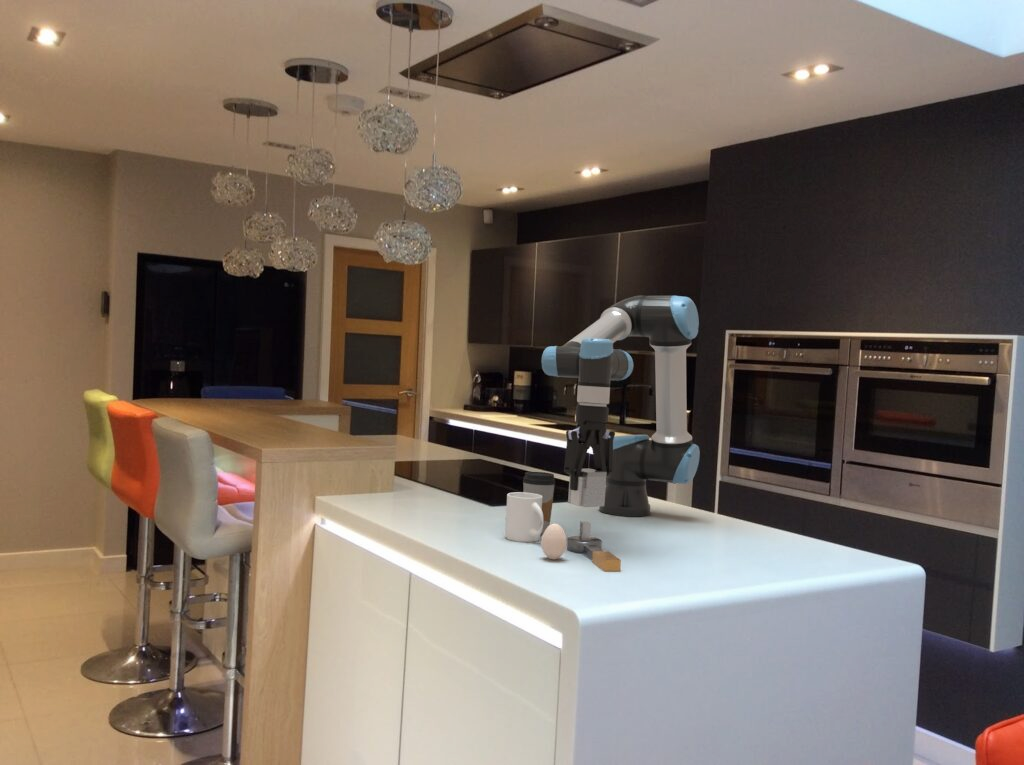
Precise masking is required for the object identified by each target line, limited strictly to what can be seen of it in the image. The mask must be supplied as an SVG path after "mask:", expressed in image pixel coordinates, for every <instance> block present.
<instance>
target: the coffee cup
mask: <svg viewBox="0 0 1024 765" xmlns="http://www.w3.org/2000/svg"><path fill="white" fill-rule="evenodd" d="M522 484H523V491H522V492H525V493H534V494H539V495H542V512H543V519H544V521H543V529H542V532H541V534H540V536H543V534H544V532H545V530H546V529H547V527H548V526H549V525H551V524H550V523H551V517H552V509H553V501H554V493H555V485H556V478H555V475H554V473H550V472H543V471H526V472H524V476H523V480H522ZM541 525H542V522H541Z"/></svg>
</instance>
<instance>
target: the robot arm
mask: <svg viewBox="0 0 1024 765" xmlns="http://www.w3.org/2000/svg"><path fill="white" fill-rule="evenodd" d="M699 321H700V320H699V312H698V308H697V305H696V304H695V303H694V301H693V300H692V299H691V298H690V297H688V296H681V295H635V296H632V297H628V298H624V299H623V300H620V301H618V302H616V303H614V304H612V305H611V306H609V307H607V309H605V310H604V311H603V312H602V313H601V314H600V317H599V318H598V319H597V320H596V321H594V322H593V323H592V324H590V325H589V326H588V327H586V328H585V329H584V330H582V331H581V332H580V333H578V334H577V335H576V336H574V337H572V339H569V341H567V342H566V343H564V344H563V345H561V346H558V345H554V346H553V345H551V346H547V347H546V348H545V349H544V350H543V353H542V355H541V369H542V371H543V372H544V374H545V375H547V376H549V377H550V376H551V377H557V378H560V377H561V378H576V379H577V378H578V381H577V396H576V402H577V403H579V404H577V405H576V409H575V410H576V411H575V420H576V422H577V424H576V427H575V429H573V430H569V429H567V430H566V432H565V435H566V445H565V456H564V457H565V458H564V465H563V472H564V473H565V474H567V475H568V476H569V480H570V490H571V504H570V505H573V504H574V506H577V505H578V506H577V507H580V506H579V505H581V494H582V479H583V477H579V476H580V474H581V470H582V469H583V468H584V467H583V466H584V463H585V460H586V456H587V454H588V451H589V449H590V448H591V450H592V455H593V461H594V467H595V470H599V471H604V472H607V475H606V489H605V504H604V506H600V507H598V510H599V511H600V512H602V513H604V514H608V515H614V516H622V517H647V516H649V515H650V514H651V505H650V504H649V503H650V502H649V496H648V493H647V481H655V482H663V483H671V484H679V485H680V484H683V485H687V484H689V483H691V481H693V479H694V477H695V475H696V473H697V471H698V467H699V463H700V457H701V456H700V453H701V452H700V451H701V450H700V447H699V445H697V444H696V443H693V436H692V435H691V434H690V432H688V427H687V426H688V425H687V424H688V421H687V420H688V418H687V417H688V415H687V405H688V404H687V400H688V399H687V349H688V348H689V347H690V346H691V345H692V340H693V339H695V338H696V337H697V335H698V333H699V327H700V326H699V325H700V322H699ZM627 337H642V338H644V337H645V338H648V339H649V342H648V343H649V346H650V347H651V348H653V349H654V360H655V361H654V362H655V363H654V365H655V413H656V414H655V417H656V418H655V420H656V427H655V428H656V431H655V432H654V433H653V434H652V435H651V439H650V435H648V434H629V435H628V434H626V435H616V432H615V431H613V430H608V429H607V426H606V423H607V422H608V421H609V412H610V410H609V407H608V406H607V405H610V394H611V381H613V382H614V381H616V382H619V381H623V380H626V379H627V378H628V377H630V376H631V374H632V373H633V370H634V361H633V358H632V356H631V355H630V354H629V353H628V352H626V351H624V350H623V349H620V348H619V349H615V348H614V346H613V345H614V343H616V342H617V341H622V340H625V339H626V338H627ZM575 470H576V471H575ZM570 477H571V478H570Z"/></svg>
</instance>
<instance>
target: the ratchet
mask: <svg viewBox="0 0 1024 765" xmlns="http://www.w3.org/2000/svg"><path fill="white" fill-rule="evenodd" d="M579 522H580V523H579V535H570V536H568V537H566V550H567V551H569V552H571V553H576V554H581V555H584V556H586V557H587V558H588V559H589V560H591V562H592V563H593V564H595V565H596V567H598V568H600V569H601V570H602V571H604V572H621V567H622V564H621V563H622V560H621V559H620V558H619V557H618V556H616V555H615V554H613V553H612V552H610V551H608V550H603V549H602V546H603V545H602V543H603V541H602V539H600V538H599V537H593V536H591V532H592V531H591V530H592V523H591V522H590V521H581V520H580V521H579Z"/></svg>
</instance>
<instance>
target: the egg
mask: <svg viewBox="0 0 1024 765" xmlns="http://www.w3.org/2000/svg"><path fill="white" fill-rule="evenodd" d="M541 549H542V552H543V554H544V556H545V557H547V559H549V560H557V559H560V558H561V557H562V556H563V554H565V553H566V552H565V551H566V550H567V535H566V533H565V531H564V528H563V527H562V526H561V525H560V524H559V523H552V524H550V525H549V526H548V527H547V529H546V530H545V532H544V534H543V535H541Z"/></svg>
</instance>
